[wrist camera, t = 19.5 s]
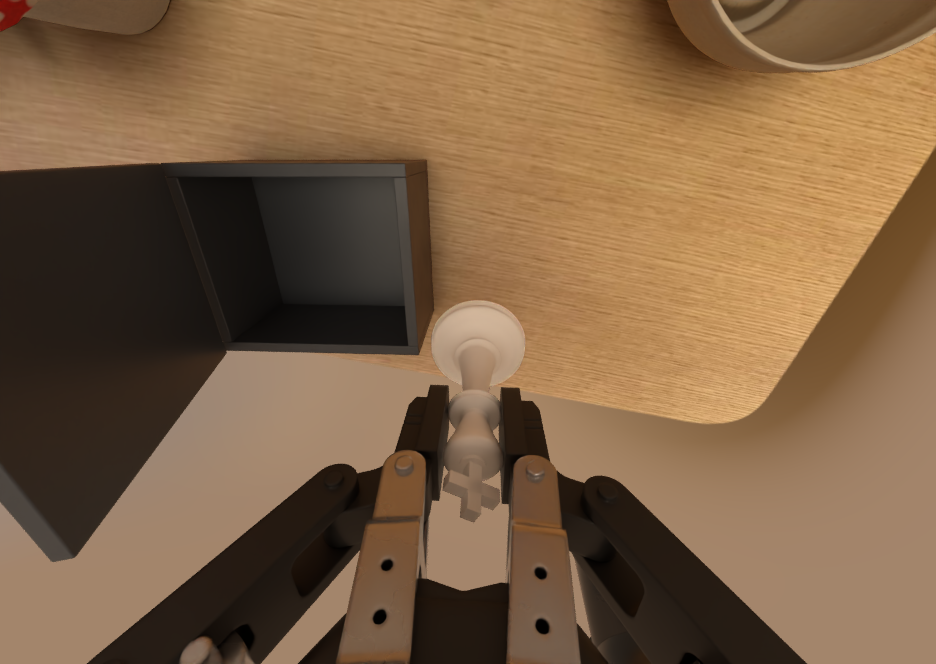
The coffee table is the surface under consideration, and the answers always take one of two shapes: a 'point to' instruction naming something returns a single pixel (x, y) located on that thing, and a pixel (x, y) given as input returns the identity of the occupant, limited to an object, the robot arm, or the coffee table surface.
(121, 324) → the lid
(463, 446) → the chess piece
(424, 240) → the case
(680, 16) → the planter bowl
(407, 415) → the robot arm
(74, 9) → the decorative object
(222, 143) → the coffee table surface
